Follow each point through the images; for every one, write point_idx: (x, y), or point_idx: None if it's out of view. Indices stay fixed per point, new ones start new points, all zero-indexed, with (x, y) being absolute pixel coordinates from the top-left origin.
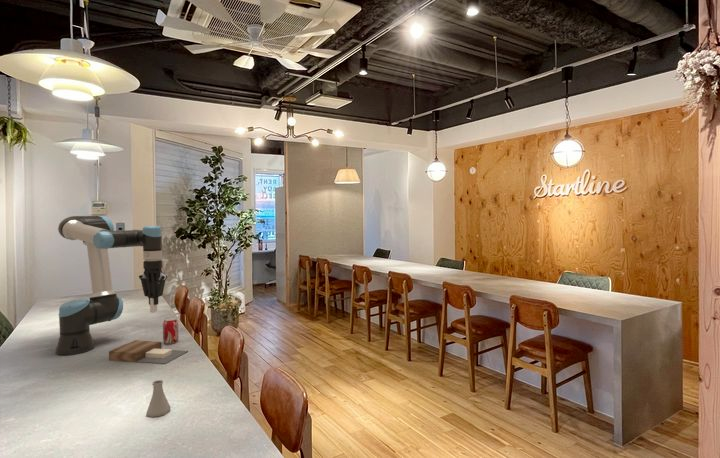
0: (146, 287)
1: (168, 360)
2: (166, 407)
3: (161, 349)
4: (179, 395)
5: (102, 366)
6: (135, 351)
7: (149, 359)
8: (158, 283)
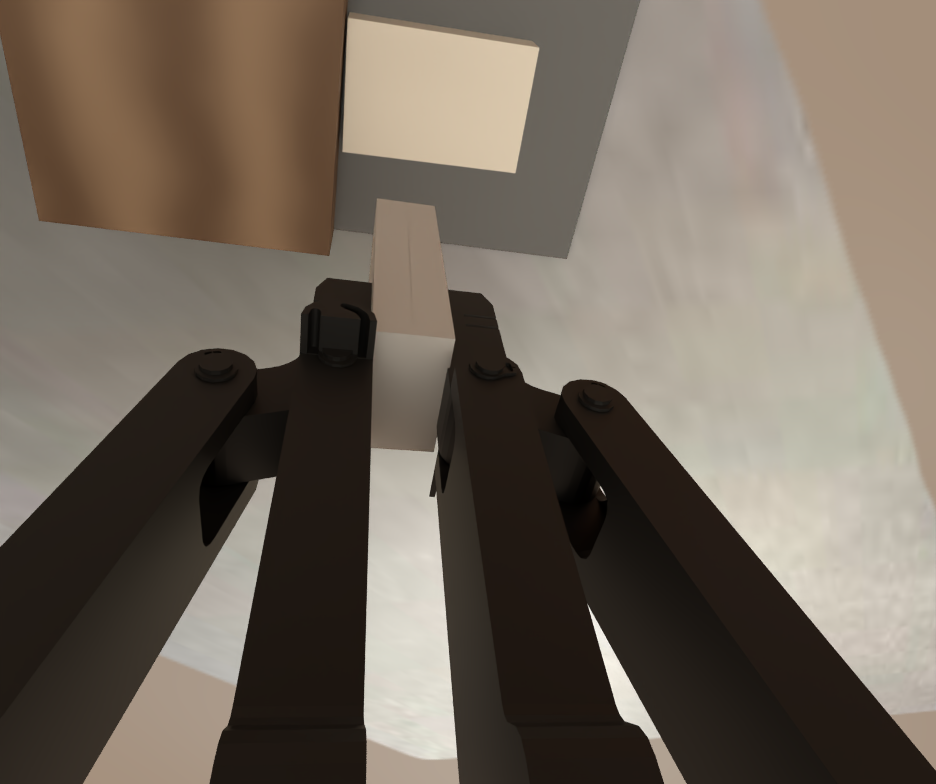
0: (155, 612)
1: (568, 206)
2: None
3: (436, 48)
4: (754, 552)
5: (146, 309)
6: (290, 218)
7: (410, 190)
8: (604, 685)
